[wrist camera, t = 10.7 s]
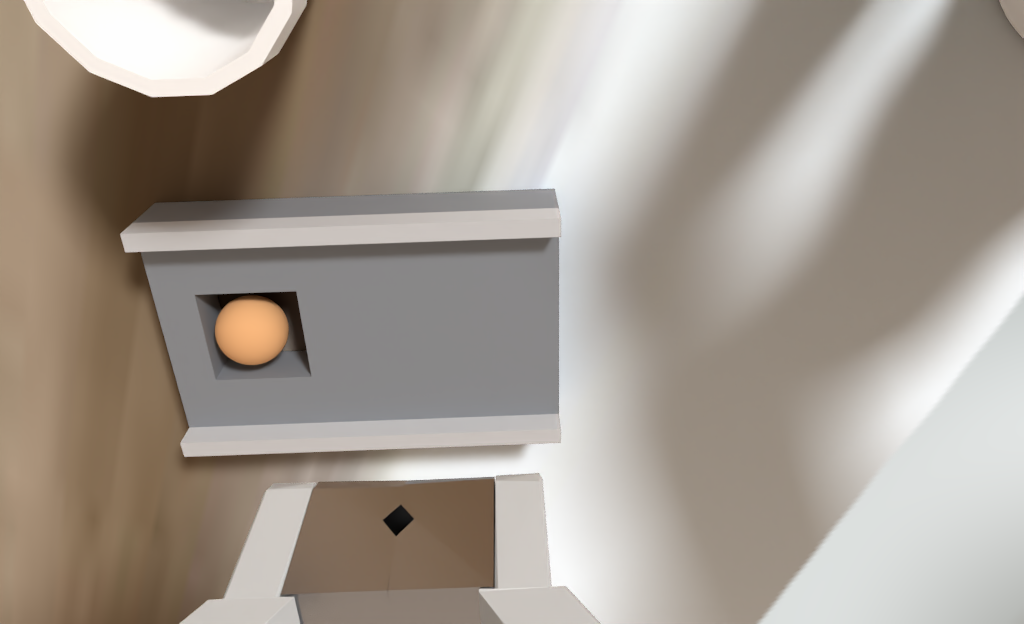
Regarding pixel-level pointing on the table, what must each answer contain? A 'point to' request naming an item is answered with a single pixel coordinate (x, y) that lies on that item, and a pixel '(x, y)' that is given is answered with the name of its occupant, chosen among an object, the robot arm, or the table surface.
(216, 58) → the foam cup
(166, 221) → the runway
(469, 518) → the robot arm
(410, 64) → the table surface
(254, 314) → the ball
